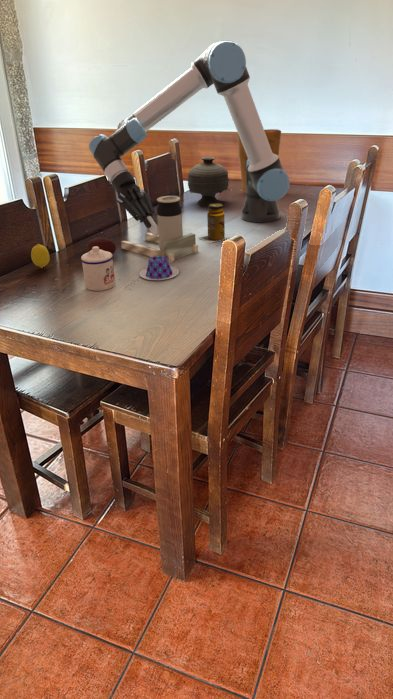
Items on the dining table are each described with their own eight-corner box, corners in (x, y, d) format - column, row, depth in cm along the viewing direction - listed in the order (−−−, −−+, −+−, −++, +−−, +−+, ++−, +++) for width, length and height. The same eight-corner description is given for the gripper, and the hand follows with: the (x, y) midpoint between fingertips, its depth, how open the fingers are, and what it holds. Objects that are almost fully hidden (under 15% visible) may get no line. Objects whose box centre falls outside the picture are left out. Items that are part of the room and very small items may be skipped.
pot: (237, 198, 238) (234, 152, 227) (217, 211, 225) (213, 163, 215) (203, 196, 246) (199, 151, 236) (182, 208, 234) (177, 162, 224)
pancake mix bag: (277, 195, 243) (280, 130, 230) (237, 194, 248) (237, 130, 235) (279, 192, 249) (282, 128, 235) (240, 190, 254) (240, 128, 240)
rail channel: (121, 248, 184) (120, 231, 181) (149, 239, 192) (147, 222, 189) (171, 262, 170) (169, 244, 167) (198, 251, 178) (197, 234, 175)
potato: (94, 251, 183) (92, 233, 180) (121, 253, 180) (119, 235, 177) (84, 258, 177) (81, 240, 174) (111, 260, 174) (109, 242, 171)
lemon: (35, 272, 166) (31, 248, 163) (32, 267, 171) (27, 243, 167) (53, 269, 169) (49, 244, 165) (49, 264, 173) (44, 240, 169)
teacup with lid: (110, 292, 150) (105, 252, 145) (80, 291, 152) (74, 252, 146) (122, 276, 161) (118, 239, 155) (94, 275, 162) (89, 238, 156)
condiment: (229, 238, 190) (229, 205, 184) (210, 243, 186) (209, 209, 180) (217, 234, 195) (217, 201, 189) (198, 238, 191) (197, 205, 185)
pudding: (136, 270, 165) (135, 254, 163) (174, 266, 168) (173, 250, 165) (143, 284, 155) (141, 267, 153) (183, 279, 158) (182, 262, 155)
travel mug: (188, 250, 180) (185, 196, 171) (175, 257, 174) (171, 202, 165) (168, 247, 183) (165, 194, 175) (155, 254, 178) (151, 200, 169)
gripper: (130, 181, 187) (166, 235, 185) (101, 187, 179) (138, 245, 177) (139, 167, 181) (176, 223, 180) (109, 173, 173) (148, 232, 171)
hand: (157, 234), depth 178 cm, fingers closed
